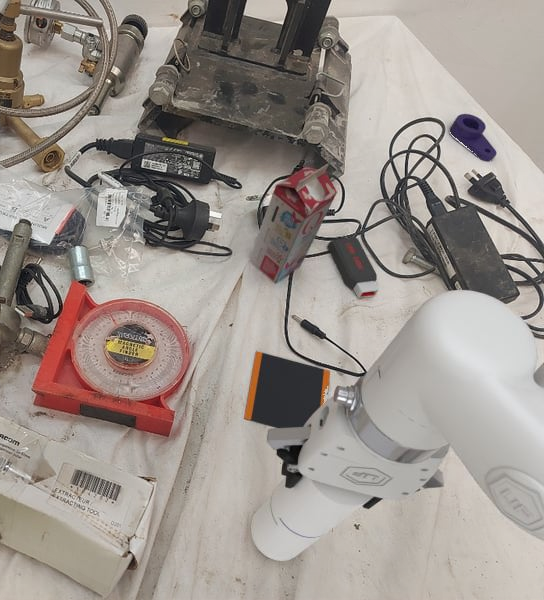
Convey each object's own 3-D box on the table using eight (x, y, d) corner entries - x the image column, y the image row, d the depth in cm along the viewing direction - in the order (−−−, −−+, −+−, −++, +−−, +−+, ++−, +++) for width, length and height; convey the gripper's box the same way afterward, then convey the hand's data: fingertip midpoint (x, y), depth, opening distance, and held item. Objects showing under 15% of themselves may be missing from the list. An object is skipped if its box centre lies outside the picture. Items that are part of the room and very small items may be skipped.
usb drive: (352, 243, 108) (358, 233, 105) (379, 295, 101) (386, 286, 99) (326, 246, 107) (331, 236, 104) (352, 299, 100) (358, 290, 98)
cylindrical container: (279, 573, 73) (348, 522, 53) (239, 527, 76) (291, 461, 56) (315, 536, 76) (395, 474, 56) (276, 493, 79) (337, 419, 58)
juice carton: (300, 266, 104) (345, 175, 85) (275, 284, 101) (315, 194, 83) (273, 243, 106) (311, 150, 88) (248, 260, 103) (282, 168, 85)
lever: (443, 128, 129) (450, 116, 126) (464, 123, 131) (472, 111, 128) (479, 164, 123) (487, 152, 121) (501, 157, 125) (510, 146, 122)
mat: (323, 440, 85) (323, 440, 85) (244, 418, 86) (244, 418, 86) (329, 371, 92) (330, 370, 92) (256, 351, 93) (256, 350, 93)
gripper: (284, 428, 44) (238, 497, 58) (520, 488, 42) (412, 543, 57) (293, 346, 48) (248, 429, 63) (508, 397, 46) (410, 471, 61)
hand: (327, 483), depth 59 cm, fingers closed on cylindrical container, 7 cm apart
